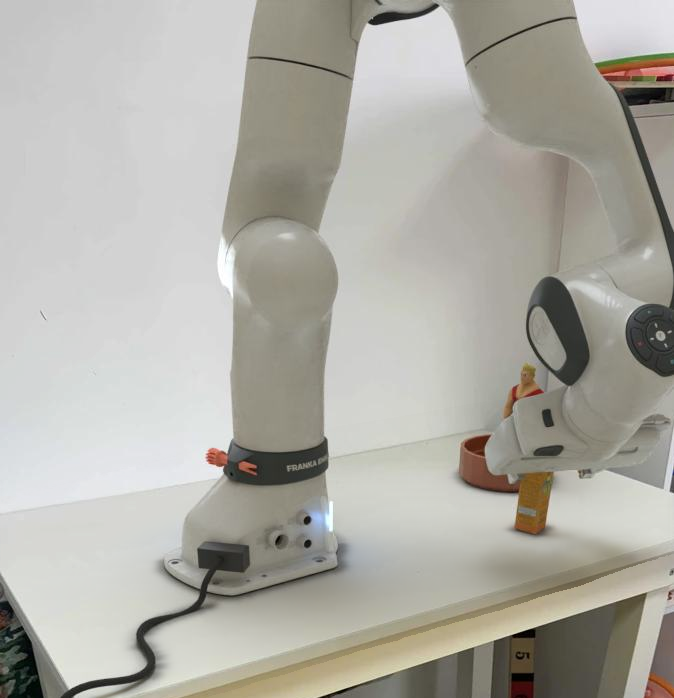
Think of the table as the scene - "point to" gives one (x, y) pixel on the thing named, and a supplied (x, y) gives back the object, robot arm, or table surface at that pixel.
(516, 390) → the action figure
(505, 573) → the table surface
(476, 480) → the bowl
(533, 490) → the supplement box
